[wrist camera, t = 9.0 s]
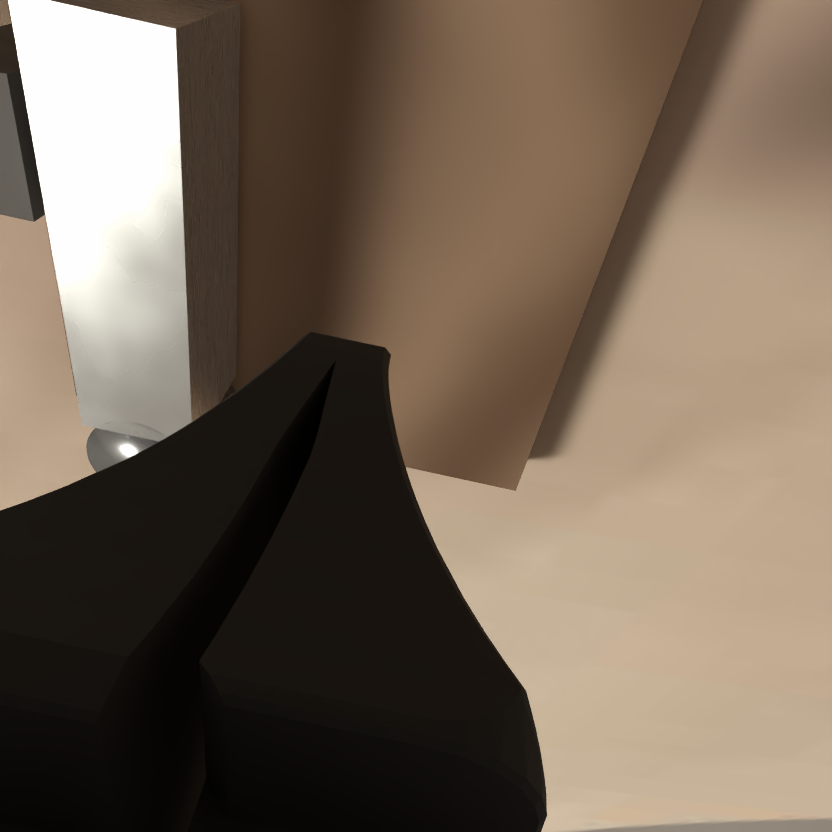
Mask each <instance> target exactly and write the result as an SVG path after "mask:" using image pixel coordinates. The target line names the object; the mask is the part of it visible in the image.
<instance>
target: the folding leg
mask: <svg viewBox="0 0 832 832" xmlns="http://www.w3.org/2000/svg"><path fill="white" fill-rule="evenodd" d="M9 6H10V12H11V17H12V23H13V29H14V35H15V41H16V46H17V52H18V58H19V64H20V69H21V75H22V81H23V87H24V92H25V98H26V104H27V110H28V115H29V121H30V127H31V133H32V139H33V144H34V150H35V156H36V162H37V167H38V173H39V179H40V185H41V190H42V196H43V202H44V208H45V214H46V219H47V225H48V231H49V237H50V242H51V248H52V254H53V260H54V265H55V271H56V277H57V283H58V288H59V294H60V300H61V306H62V312H63V317H64V323H65V329H66V335H67V340H68V346H69V352H70V358H71V363H72V369H73V375H74V381H75V387H76V392H77V398H78V404H79V410H80V415H81V421H82V425H84V426H89V427H94V428H95V429H94V430H93V431H92V433H91V434H90V436H89V438H88V441H87V455H88V458H89V461H90V463H91V465H92V467H93V468H94V470H95V471H96V472H99V471H101V470H103V469H105V468H108V467H110V466H112V465H114V464H117V463H119V462H121V461H123V460H125V459H128V458H130V457H132V456H134V455H136V454H137V453H139V452H141V451H143V450H145V449H147V448H148V447H150V446H152V445H154V444H156V443H158V442H159V441H161V440H163V439H165V438H166V437H168V436H170V435H171V434H173V433H175V432H176V431H178V430H180V429H181V428H183V427H185V426H186V425H188V424H189V423H191V422H192V421H194V420H195V419H197V418H198V417H200V416H201V415H203V414H204V413H206V412H207V411H209V410H210V409H212V408H213V407H215V406H216V405H218V404H219V403H221V402H222V401H224V400H225V399H226V398H228V397H229V396H231V395H232V394H233V393H235V392H234V389H233V386H232V384H231V383H232V382H233V380H234V378H235V377H236V344H237V262H238V179H239V97H240V15H241V4H240V3H236V2H232V1H227V0H9Z"/></svg>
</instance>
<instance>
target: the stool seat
mask: <svg viewBox="0 0 832 832" xmlns="http://www.w3.org/2000/svg"><path fill="white" fill-rule="evenodd" d="M227 1H232V2H236V3H240V4H241V15H240V97H239V179H238V262H237V344H236V377H235V378H234V380H233V382H232V383H231V384H232V386H233V389H234V392H236V391H237V390H239V389H240V388H241V387H243V386H244V385H245V384H246V383H248V382H249V381H250V380H252V379H253V378H254V377H256V376H257V375H258V374H259V373H261V372H262V371H263V370H264V369H266V368H267V367H268V366H269V365H271V364H272V363H273V362H274V361H275V360H277V359H278V358H279V357H280V356H281V355H282V354H284V353H285V352H286V351H287V350H288V349H289V348H291V347H292V346H293V345H294V344H295V343H296V342H297V341H299V340H300V339H301V338H302V337H303V336H305V335H306V334H308V333H309V332H315V333H319V334H324V335H329V336H334V337H338V338H343V339H348V340H353V341H357V342H362V343H367V344H372V345H377V346H381V347H386V349H387V350H388V352H389V353H390V354H391V358H390V364H389V391H390V401H391V407H392V413H393V418H394V423H395V428H396V433H397V438H398V442H399V446H400V450H401V453H402V457H403V460H404V464H405V467H409V468H413V469H418V470H422V471H427V472H432V473H436V474H441V475H446V476H450V477H455V478H459V479H464V480H469V481H473V482H478V483H482V484H487V485H492V486H496V487H501V488H506V489H510V490H515V491H516V488H517V486H518V483H519V480H520V478H521V475H522V473H523V470H524V467H525V465H526V462H527V460H528V457H529V454H530V452H531V449H532V447H533V444H534V441H535V439H536V436H537V433H538V431H539V428H540V426H541V423H542V420H543V418H544V415H545V413H546V410H547V407H548V405H549V402H550V399H551V397H552V394H553V392H554V389H555V386H556V384H557V381H558V379H559V376H560V373H561V371H562V368H563V366H564V363H565V360H566V358H567V355H568V352H569V350H570V347H571V345H572V342H573V339H574V337H575V334H576V332H577V329H578V326H579V324H580V321H581V318H582V316H583V313H584V311H585V308H586V305H587V303H588V300H589V298H590V295H591V292H592V290H593V287H594V285H595V282H596V279H597V277H598V274H599V271H600V269H601V266H602V264H603V261H604V258H605V256H606V253H607V251H608V248H609V245H610V243H611V240H612V237H613V235H614V232H615V230H616V227H617V224H618V222H619V219H620V217H621V214H622V211H623V209H624V206H625V204H626V201H627V198H628V196H629V193H630V190H631V188H632V185H633V183H634V180H635V177H636V175H637V172H638V170H639V167H640V164H641V162H642V159H643V156H644V154H645V151H646V149H647V146H648V143H649V141H650V138H651V136H652V133H653V130H654V128H655V125H656V123H657V120H658V117H659V115H660V112H661V109H662V107H663V104H664V102H665V99H666V96H667V94H668V91H669V89H670V86H671V83H672V81H673V78H674V75H675V73H676V70H677V68H678V65H679V62H680V60H681V57H682V55H683V52H684V49H685V47H686V44H687V42H688V39H689V36H690V34H691V31H692V28H693V26H694V23H695V21H696V18H697V15H698V13H699V10H700V8H701V5H702V2H703V0H227ZM8 4H9V0H8ZM9 10H10V6H9ZM10 16H11V12H10ZM11 21H12V17H11ZM0 214H1V215H6V216H10V217H15V218H19V219H24V220H29V221H33V222H34V221H36V220H37V219H39V218H40V217H42V216H43V215H45V218H46V214H45V208H44V202H43V196H42V190H41V185H40V179H39V173H38V167H37V162H36V156H35V150H34V144H33V139H32V133H31V127H30V121H29V115H28V110H27V104H26V98H25V92H24V87H23V81H22V75H21V69H20V64H19V58H18V52H17V46H16V41H15V35H14V29H13V23H12V24H8V25H4V26H0ZM46 223H47V219H46ZM47 229H48V225H47ZM48 235H49V231H48ZM49 241H50V237H49ZM50 246H51V242H50ZM51 252H52V248H51ZM52 258H53V254H52ZM53 264H54V260H53ZM54 270H55V265H54ZM55 275H56V271H55ZM56 281H57V277H56ZM57 287H58V283H57ZM58 293H59V288H58ZM59 298H60V294H59ZM60 304H61V300H60ZM61 310H62V306H61ZM62 316H63V312H62ZM63 321H64V317H63ZM64 327H65V323H64ZM65 333H66V329H65ZM66 339H67V335H66ZM67 345H68V340H67ZM68 350H69V346H68ZM69 356H70V352H69ZM70 362H71V358H70ZM71 368H72V363H71ZM72 373H73V369H72ZM73 379H74V375H73ZM74 385H75V381H74ZM75 391H76V387H75ZM76 395H77V392H76Z"/></svg>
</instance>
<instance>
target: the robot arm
mask: <svg viewBox="0 0 832 832" xmlns="http://www.w3.org/2000/svg"><path fill="white" fill-rule="evenodd" d="M390 358H391V354H390V353H389V352H388V350H387V349H386V347H381V346H377V345H372V344H367V343H362V342H357V341H353V340H348V339H343V338H338V337H334V336H329V335H324V334H319V333H315V332H309V333H308V334H306V335H305V336H303V337H302V338H301V339H300V340H299V341H297V342H296V343H295V344H294V345H293V346H292V347H291V348H289V349H288V350H287V351H286V352H285V353H284V354H282V355H281V356H280V357H279V358H278V359H277V360H275V361H274V362H273V363H272V364H271V365H269V366H268V367H267V368H266V369H264V370H263V371H262V372H261V373H259V374H258V375H257V376H256V377H254V378H253V379H252V380H250V381H249V382H248V383H246V384H245V385H244V386H243V387H241V388H240V389H239V390H237V391H236V392H235V393H233V394H232V395H231V396H229V397H228V398H226V399H225V400H224V401H222V402H221V403H219V404H218V405H216V406H215V407H213V408H212V409H210V410H209V411H207V412H206V413H204V414H203V415H201V416H200V417H198V418H197V419H195V420H194V421H192V422H191V423H189V424H188V425H186V426H185V427H183V428H181V429H180V430H178V431H176V432H175V433H173V434H171V435H170V436H168V437H166V438H165V439H163V440H161V441H159V442H158V443H156V444H154V445H152V446H150V447H148V448H147V449H145V450H143V451H141V452H139V453H137V454H136V455H134V456H132V457H130V458H128V459H125V460H123V461H121V462H119V463H117V464H114V465H112V466H110V467H108V468H105V469H103V470H101V471H99V472H97V473H94V474H92V475H90V476H88V477H86V478H83V479H81V480H79V481H77V482H74V483H72V484H70V485H68V486H65V487H63V488H60V489H58V490H55V491H53V492H50V493H47V494H45V495H42V496H40V497H37V498H34V499H32V500H29V501H27V502H24V503H21V504H18V505H15V506H12V507H10V508H7V509H4V510H1V511H0V832H541V830H542V827H543V825H544V822H545V819H546V817H547V808H546V787H545V778H544V771H543V765H542V758H541V752H540V747H539V742H538V737H537V732H536V728H535V724H534V720H533V716H532V712H531V708H530V704H529V700H528V697H527V693H526V690H525V689H524V687H523V686H522V685H521V683H520V682H519V680H518V679H517V678H516V676H515V675H514V674H513V672H512V671H511V669H510V668H509V667H508V665H507V664H506V662H505V661H504V660H503V658H502V657H501V655H500V654H499V652H498V651H497V649H496V648H495V646H494V645H493V643H492V642H491V641H490V639H489V638H488V636H487V635H486V633H485V632H484V630H483V628H482V627H481V625H480V623H479V622H478V620H477V619H476V617H475V615H474V614H473V612H472V611H471V609H470V607H469V606H468V604H467V602H466V601H465V599H464V598H463V596H462V594H461V592H460V590H459V588H458V586H457V584H456V583H455V581H454V579H453V577H452V575H451V573H450V571H449V569H448V568H447V566H446V564H445V562H444V560H443V558H442V556H441V554H440V553H439V551H438V549H437V547H436V545H435V542H434V540H433V538H432V536H431V533H430V531H429V529H428V527H427V524H426V522H425V520H424V517H423V515H422V512H421V510H420V507H419V505H418V502H417V500H416V497H415V494H414V492H413V489H412V486H411V483H410V480H409V477H408V474H407V471H406V467H405V464H404V460H403V457H402V453H401V450H400V446H399V442H398V438H397V433H396V428H395V423H394V418H393V413H392V407H391V401H390V391H389V364H390Z"/></svg>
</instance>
